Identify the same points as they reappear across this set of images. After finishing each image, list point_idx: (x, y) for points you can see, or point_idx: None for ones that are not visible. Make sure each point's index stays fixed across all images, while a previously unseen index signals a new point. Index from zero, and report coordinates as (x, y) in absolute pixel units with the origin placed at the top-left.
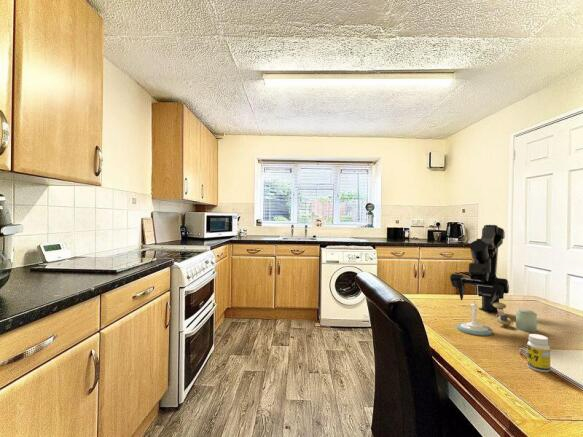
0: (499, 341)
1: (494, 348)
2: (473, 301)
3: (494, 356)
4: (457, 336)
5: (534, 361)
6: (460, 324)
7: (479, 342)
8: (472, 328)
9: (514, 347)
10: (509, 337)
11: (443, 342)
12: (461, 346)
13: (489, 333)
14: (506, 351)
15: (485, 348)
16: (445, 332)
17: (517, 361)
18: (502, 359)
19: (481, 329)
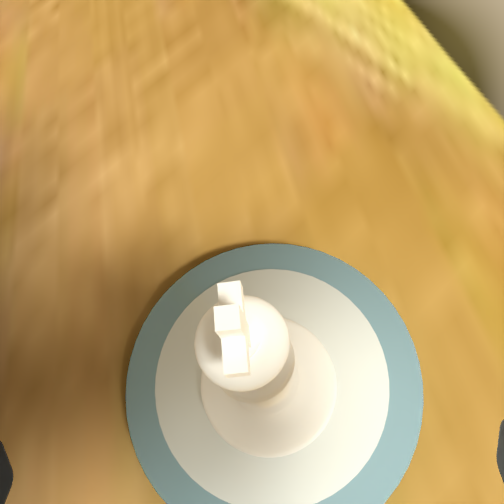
0: (81, 245)
1: (101, 107)
2: (233, 281)
3: (95, 14)
4: (321, 145)
5: None
6: (395, 384)
7: (183, 138)
8: None
9: (3, 200)
10: (18, 395)
11: (342, 4)
12: (248, 18)
13: (144, 331)
14: (45, 109)
15: (141, 75)
16: (416, 163)
17: (6, 30)
18: (63, 8)
19: None
